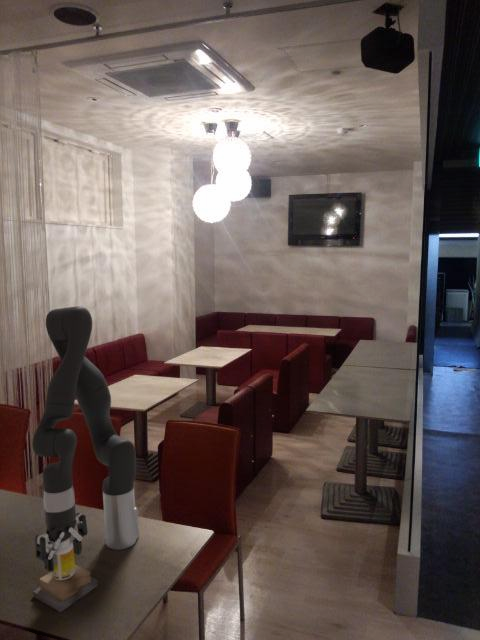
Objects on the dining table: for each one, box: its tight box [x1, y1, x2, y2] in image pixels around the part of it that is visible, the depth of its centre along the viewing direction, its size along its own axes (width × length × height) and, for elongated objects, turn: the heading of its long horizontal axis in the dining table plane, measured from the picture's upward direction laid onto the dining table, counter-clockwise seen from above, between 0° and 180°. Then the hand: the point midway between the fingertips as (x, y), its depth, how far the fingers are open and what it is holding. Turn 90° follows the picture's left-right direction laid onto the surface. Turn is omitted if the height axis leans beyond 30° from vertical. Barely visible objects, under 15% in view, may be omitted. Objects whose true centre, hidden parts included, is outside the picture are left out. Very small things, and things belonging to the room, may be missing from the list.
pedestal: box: [32, 564, 99, 613], centre depth 134 cm, size 12×11×4 cm
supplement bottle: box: [52, 538, 76, 580], centre depth 134 cm, size 6×6×10 cm
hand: (64, 561), depth 134 cm, fingers open, 8 cm apart
